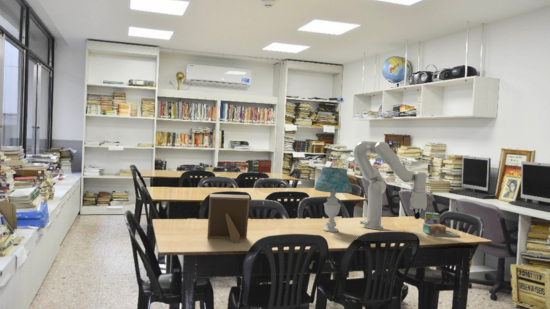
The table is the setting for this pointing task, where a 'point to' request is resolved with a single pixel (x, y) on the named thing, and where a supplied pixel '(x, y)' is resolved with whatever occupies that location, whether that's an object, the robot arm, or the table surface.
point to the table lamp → (333, 192)
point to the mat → (448, 234)
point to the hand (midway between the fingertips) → (416, 218)
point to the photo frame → (228, 216)
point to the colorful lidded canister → (432, 218)
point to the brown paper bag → (434, 228)
